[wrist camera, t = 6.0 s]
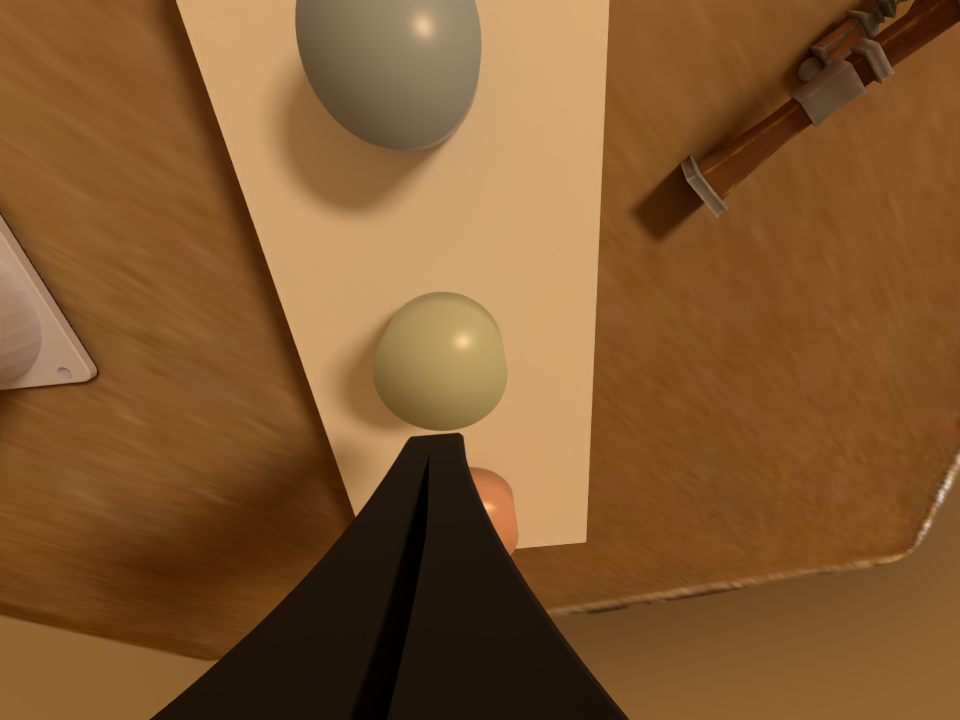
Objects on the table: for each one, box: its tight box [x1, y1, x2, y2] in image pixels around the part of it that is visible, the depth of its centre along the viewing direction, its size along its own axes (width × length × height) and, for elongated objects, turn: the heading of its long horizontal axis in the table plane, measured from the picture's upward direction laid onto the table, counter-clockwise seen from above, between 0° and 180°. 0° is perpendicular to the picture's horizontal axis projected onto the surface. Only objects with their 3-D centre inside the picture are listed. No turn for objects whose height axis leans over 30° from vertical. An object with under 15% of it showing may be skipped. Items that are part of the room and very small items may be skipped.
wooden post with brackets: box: [681, 0, 960, 218], centre depth 11 cm, size 2×8×4 cm, turn 139°
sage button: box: [372, 292, 508, 431], centre depth 12 cm, size 4×4×2 cm
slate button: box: [295, 0, 482, 152], centre depth 9 cm, size 4×4×2 cm
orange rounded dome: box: [469, 467, 519, 555], centre depth 16 cm, size 4×4×2 cm
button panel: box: [176, 0, 609, 549], centre depth 15 cm, size 11×24×2 cm, turn 6°
